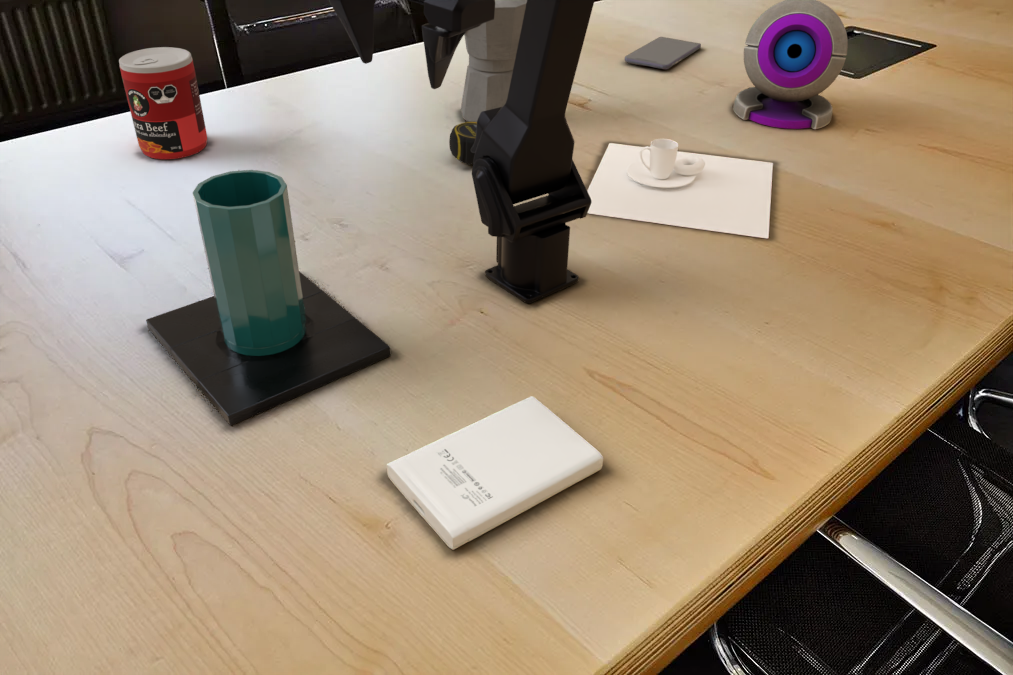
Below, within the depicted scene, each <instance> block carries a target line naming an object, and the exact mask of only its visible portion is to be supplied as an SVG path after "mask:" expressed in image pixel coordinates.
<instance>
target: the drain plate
mask: <svg viewBox="0 0 1013 675" xmlns="http://www.w3.org/2000/svg"><path fill="white" fill-rule="evenodd" d="M299 275H300V282H301V289H302V296H303V303H304V310H305V317H306V321H305V324H306V332H305V335H304V337H303V338H302V339H301V341H299V342H298V343H297V344H296V345H294V346H293V347H291V348H289V349H287V350H285V351H282V352H280V353H276V354H272V355H266V356H249V355H243V354H240V353H237V352H235V351H233V350H231V349H230V348H229V347H228V346H227V345H226V343H225V341H224V337H223V332H222V330H221V325H220V321H219V316H218V311H217V306H216V302H215V297H214V295H212V296H210V297H207V298H204V299H201V300H198V301H195V302H192V303H190V304H187V305H183V306H181V307H178V308H175V309H172V310H169V311H166V312H164V313H161V314H158V315H154V316H152V317H149V318H146V320H145V322H146V325H147V329H148V330H149V331H150V332H151V334H152V335H153V336H154V337H155V338H156V340H157V341H158V342H159V343H160V344H161V346H163V348H164V349H165V350H166V351H167V353H168V354H169V355H170V356H171V357H172V359H173V360H174V361H175V362H176V364H178V366H179V368H181V370H183V372H184V373H185V374H186V375H187V377H188V378H189V379H190V380H191V381H192V382H193V383H194V384H195V386H196V387H197V388H198V390H199V391H200V392H201V393H202V394H203V395H204V396H205V397H206V399H207V400H208V401H209V403H211V405H212V406H213V407H214V408H215V409H216V411H217V412H218V413H219V414H220V415H221V416H222V418H223V419H224V420H225V421H226V422H227V424H228V425H229V426H234V425H236V424H238V423H240V422H243V421H245V420H247V419H249V418H251V417H254V416H256V415H258V414H261V413H264V412H266V411H268V410H269V409H270V410H271V409H273V408H275V407H277V406H280V405H282V404H285V403H286V402H288V401H291V400H293V399H296V398H298V397H300V396H302V395H304V394H307V393H309V392H311V391H313V390H316V389H318V388H321V387H322V386H325V385H327V384H330V383H332V382H335V381H336V380H339V379H341V378H344V377H346V376H348V375H351V374H352V373H355V372H357V371H359V370H362V369H364V368H366V367H369V366H370V365H373V364H375V363H377V362H381V361H383V360H385V359H387V358H389V357H391V346H390V345H389V344H388V343H387V342H385V341H384V340H383V339H381V338H380V337H379V336H378V335H377V334H376V333H375V332H373V331H372V330H371V329H370V328H368V327H367V326H366V325H365V324H363V323H362V322H361V321H360V320H359V319H357V318H356V317H355V316H354V315H353V314H351V313H350V311H348V310H346V308H344V307H343V306H342V305H341V304H339V303H338V302H337V301H336V300H335V299H333V298H332V297H331V296H330V295H329V294H328V293H326V292H325V291H324V290H323V289H321V288H320V287H319V286H318V285H317V284H316V283H314V282H313V281H312V280H310V279H309V278H308V277H307V276H306V275H304V274H303V273H302V272H301V271H300V270H299Z"/></svg>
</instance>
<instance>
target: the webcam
mask: <svg viewBox="0 0 1013 675" xmlns="http://www.w3.org/2000/svg"><path fill="white" fill-rule="evenodd" d="M744 45H745V46H743V65H744V69H745V72H746V75H747V77H748V79H749V81H750V82H751V84H752V85H753V86H752V87H747V88H744V89H743V90H741V91H739V92H738V93H737V95H736V96H735V98H734V101H733V106H732V108H733V112H734V114H735V115H736V116H738V118H740V119H742V120H743V121H747V120H749V121H752V122H753V123H756V124H760V125H763V126H766V127H767V126H768V127H772V128H779V129H787V130H788V129H789V130H790V129H791V130H792V129H793V130H799V129H800V130H801V129H813V130H818V129H822V128H825V127H826V126H827V125H829V124H830V122H831V121H832V117H833V113H834V112H833V105H832V102H830V101H829V99H827V98H825V97H823V96H822V95H820V94H822V93H823V92H824V91H825V90H827V89H828V88H829V87H830V86H831V85H832V84H834V82H835V81H836V80H837V78H838V76H840V73H841V72H842V71H843V70H842V69H843V68H844V66H845V62H846V59H847V57H845V56H847V55H848V50H849V49H848V48H849V47H848V46H849V40H848V34H847V30H846V28H845V24H844V23H843V21H842V19H841V17H840V15H839V14H837V12H836V11H835V10H834V9H833V8H831V7H830V6H829V5H827V4H826V3H824V2H822V1H819V0H782V1H779V2H777V3H775V4H773V5H772V6H770V7H768V8H767V9H766V10H764V12H762V13H761V14H760V15H759V16H758V17H757V18H756V19H755V21H754V22H753V24H752V25H751V27H750V29H749V31H748V33H747V35H746V38H745V40H744Z"/></svg>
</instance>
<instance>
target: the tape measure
mask: <svg viewBox="0 0 1013 675" xmlns="http://www.w3.org/2000/svg"><path fill="white" fill-rule="evenodd" d="M476 128H477V122H468V121H466V122H465V121H464V122H461V123H458V124H456V125H455V126H453V128H452V129H451V132H450V133H449V151H450V152H451V155H452V156H453V158H454V159H456V160H458V161H459V162H461V163H464V164H468V165H473V159H474V155H475V153H472V152H471V148H472V146H473V144H474V142H475V138H476Z"/></svg>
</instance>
